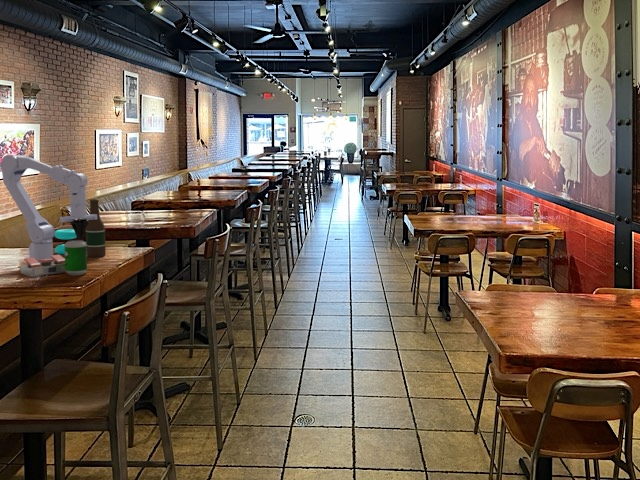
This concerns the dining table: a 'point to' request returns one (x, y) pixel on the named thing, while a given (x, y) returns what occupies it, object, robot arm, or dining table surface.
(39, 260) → the rocker
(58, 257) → the rocker
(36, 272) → the console
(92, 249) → the beer bottle
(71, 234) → the donuts
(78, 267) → the soda can
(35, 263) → the rocker
